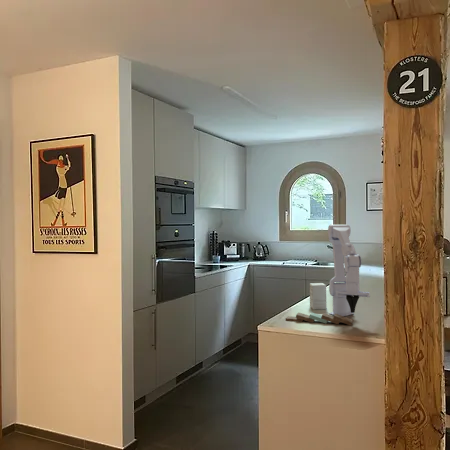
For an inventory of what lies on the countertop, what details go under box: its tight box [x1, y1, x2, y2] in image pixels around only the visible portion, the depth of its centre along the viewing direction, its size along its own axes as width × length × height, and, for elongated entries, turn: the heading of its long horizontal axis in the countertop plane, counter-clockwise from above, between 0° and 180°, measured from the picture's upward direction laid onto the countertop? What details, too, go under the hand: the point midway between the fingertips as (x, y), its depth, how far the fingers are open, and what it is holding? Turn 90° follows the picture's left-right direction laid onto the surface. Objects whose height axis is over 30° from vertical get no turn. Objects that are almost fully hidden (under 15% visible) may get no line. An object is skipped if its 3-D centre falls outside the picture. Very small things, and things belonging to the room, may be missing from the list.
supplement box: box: [309, 282, 328, 310], centre depth 245 cm, size 7×7×13 cm
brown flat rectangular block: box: [333, 313, 353, 326], centre depth 209 cm, size 2×5×8 cm
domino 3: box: [309, 312, 329, 324], centre depth 213 cm, size 2×5×8 cm
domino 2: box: [295, 312, 315, 323], centre depth 216 cm, size 2×5×8 cm
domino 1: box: [285, 315, 305, 323], centre depth 218 cm, size 2×5×8 cm
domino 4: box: [321, 312, 341, 326], centre depth 211 cm, size 2×5×8 cm
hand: (352, 312), depth 207 cm, fingers closed
